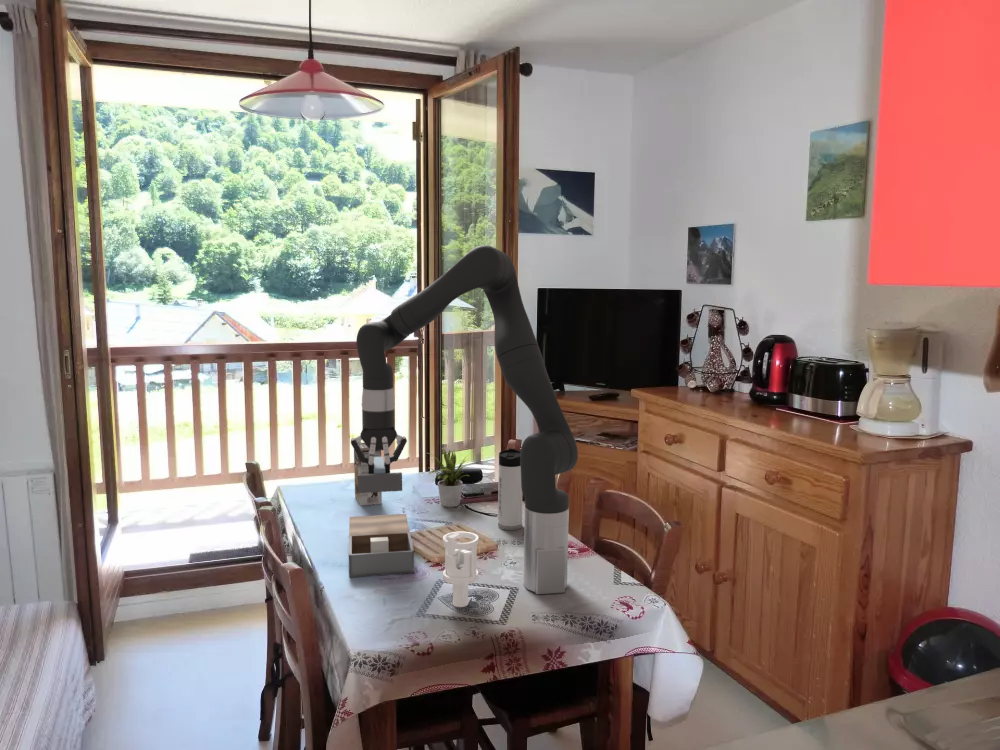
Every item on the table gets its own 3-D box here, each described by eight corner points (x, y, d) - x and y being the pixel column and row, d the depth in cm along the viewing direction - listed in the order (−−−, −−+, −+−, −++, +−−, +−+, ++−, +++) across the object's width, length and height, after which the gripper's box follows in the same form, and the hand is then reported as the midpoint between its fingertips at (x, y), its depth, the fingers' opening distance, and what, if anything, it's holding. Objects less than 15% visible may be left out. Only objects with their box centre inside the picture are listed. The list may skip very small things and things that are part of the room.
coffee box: (354, 497, 224) (353, 443, 222) (375, 495, 226) (375, 441, 224) (359, 506, 215) (358, 450, 213) (382, 504, 218) (381, 448, 215)
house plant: (414, 499, 222) (414, 444, 220) (458, 493, 228) (458, 439, 226) (433, 513, 210) (433, 455, 207) (479, 506, 216) (479, 450, 214)
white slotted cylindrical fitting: (435, 605, 153) (435, 533, 151) (457, 593, 159) (457, 523, 157) (464, 614, 149) (464, 540, 147) (485, 601, 155) (485, 530, 153)
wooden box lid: (410, 553, 181) (410, 532, 180) (349, 556, 178) (349, 536, 177) (406, 533, 194) (406, 513, 193) (349, 536, 192) (349, 516, 191)
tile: (387, 553, 179) (388, 557, 176) (370, 554, 178) (371, 558, 176) (387, 536, 178) (388, 540, 176) (370, 537, 177) (370, 541, 175)
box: (414, 573, 169) (413, 551, 168) (349, 577, 166) (348, 555, 166) (410, 553, 181) (410, 532, 180) (349, 556, 178) (349, 536, 177)
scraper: (402, 490, 177) (401, 469, 177) (358, 493, 175) (357, 471, 175) (398, 475, 192) (398, 456, 192) (357, 477, 190) (357, 457, 190)
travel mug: (522, 522, 203) (523, 448, 200) (521, 530, 197) (522, 454, 194) (499, 521, 204) (500, 447, 201) (496, 529, 197) (497, 453, 194)
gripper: (348, 410, 175) (349, 484, 177) (409, 409, 177) (410, 482, 180) (348, 405, 182) (349, 476, 185) (407, 403, 185) (407, 473, 187)
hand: (379, 478), depth 182 cm, fingers closed on scraper, 2 cm apart
